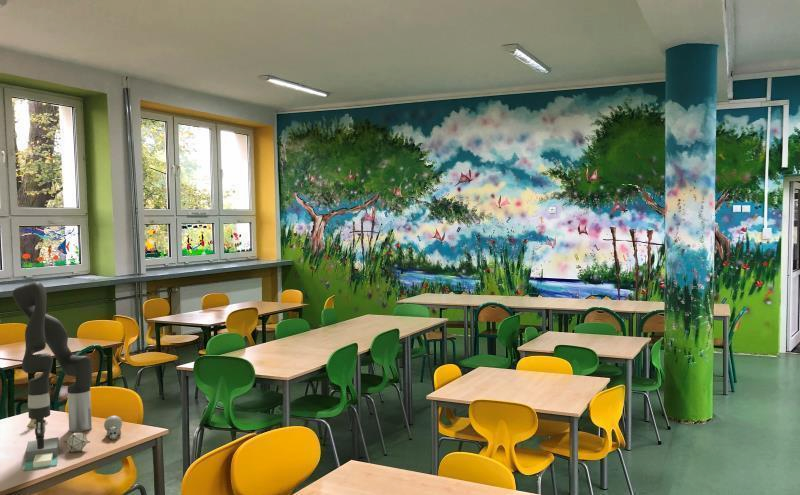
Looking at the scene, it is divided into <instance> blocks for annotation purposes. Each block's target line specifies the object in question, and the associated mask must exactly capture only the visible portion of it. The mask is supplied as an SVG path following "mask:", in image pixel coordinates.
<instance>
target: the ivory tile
mask: <svg viewBox="0 0 800 495" xmlns="http://www.w3.org/2000/svg"><path fill="white" fill-rule="evenodd" d="M52 459H53V452H52V453H45V454H38V455H35V458H34V461H33V468H34V467H41V466H48V465H51V463H52Z"/></svg>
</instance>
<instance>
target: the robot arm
mask: <svg viewBox="0 0 800 495" xmlns="http://www.w3.org/2000/svg"><path fill="white" fill-rule="evenodd" d="M12 297H13V300H14V302H15V304H16V305H17V307H19V309H20V310H21V311H22V312H23V314H24V315H25V316H26V317H27V319H29V321H28V323H27V325H26V327H25V330H24V340H25V342H24V343H25V351H24V355H23V358H22V362H21V369H22V370H23V372H24V373H26V374H34V373H35V374H36V373H41V374H40V375H39V376H36V377H35V378H31V379H29V381H27V382H28V384H27V389H28V390H27V391H28V395H27V409H28V410H27V411H28V413H27V414H28V418H29V419H30V420H31V419H36V421H34V427H33V428H34V435H35V440H37V449H43V448H44V439H45V432H46V425H47V424H46V419H45V418H48V417H49V416H50V415H51V398H50V391H49V390H50V388H49V383H50V382H49V379H50V374H51V371H52V368H53V363H54V362H53V361H54V358H53V357H52V354H53V355H54V357H55V359H56V361H57V363H58V365H59V366H60V369H61V370H62V372H63V373H64V374H65V375H66V376H68V377H75V380H74V383H72V384H69V385H68V386H67V410H68V412H67V413H68V414H67V415H68V430H69V432H72V431H73V432H74V433H80V432H84V431H85V432H86V431H88V430H92V429H93V427H92V426H93V425H92V402H91V401H92V400H91V398H92V397H91V386H92V382H93V377H92V376H93V364H92V359H91V358H90V357H89V356H87V355H75V354H74V353H73V352H72V351H71V349H70V348H69V347H68V341H69V335H68V331H67V330H66V328H65V327H64V325H63V323H62V322H61V321H60V320H59V319H57V318H56V317H53V316H52V315H49V314H48V313H46V311H47V301H48V300H47V299H48V297H47V291H46V288H45V286H44V285H43V283H41V282H39V281H34V282H31V283H28V284H24V285H22V286H19V287H15V289H13V291H12ZM46 346H48V348H49V350H50V351H51V353H52V354H50V353H48V352H47V353H39V352H42V351H44V350H45V349H46ZM35 353H37V354H35ZM44 419H45V420H44ZM45 424H46V425H45Z"/></svg>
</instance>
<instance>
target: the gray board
mask: <svg viewBox="0 0 800 495" xmlns="http://www.w3.org/2000/svg"><path fill="white" fill-rule="evenodd" d="M59 439H60V438H59V436H58V437H51V438H44V448H43V449H37V440H36V439H35V440H30V441H27V443H26V444H27V445H26V448H25V452H24V453H25V454H24V455H25V462H27V461H34V458H35V455H38V454H45V453H52V452H53V457H57V458H59V457H58V456H59V448H60V444H59V442H60V441H59Z"/></svg>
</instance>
